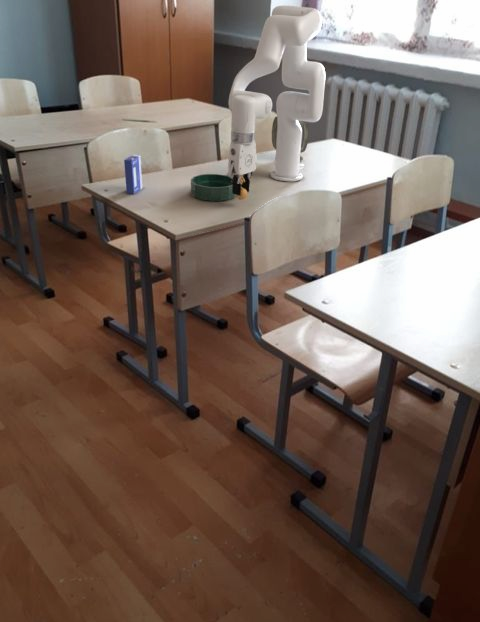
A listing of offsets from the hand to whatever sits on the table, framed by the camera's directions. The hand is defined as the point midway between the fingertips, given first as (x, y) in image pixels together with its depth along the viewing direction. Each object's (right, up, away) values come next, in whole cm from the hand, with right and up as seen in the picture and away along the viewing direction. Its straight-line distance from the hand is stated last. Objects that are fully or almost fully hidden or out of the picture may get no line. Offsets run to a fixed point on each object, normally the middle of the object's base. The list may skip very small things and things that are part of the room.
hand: (240, 192), depth 202 cm
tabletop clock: (+18, +30, +58) cm, 67 cm away
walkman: (-38, +3, +10) cm, 40 cm away
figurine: (-1, -3, +1) cm, 3 cm away
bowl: (-10, +2, +11) cm, 16 cm away
